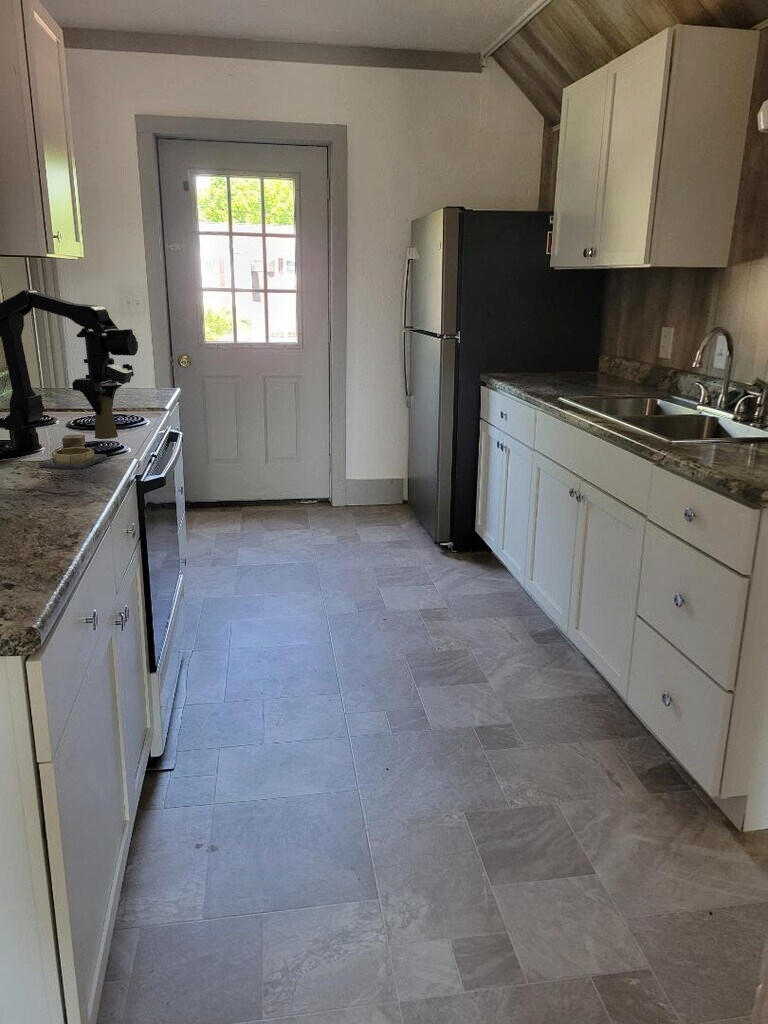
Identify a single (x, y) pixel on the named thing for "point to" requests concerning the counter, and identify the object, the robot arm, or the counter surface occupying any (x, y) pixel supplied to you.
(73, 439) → the walnut block
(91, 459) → the cup bracket
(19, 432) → the robot arm
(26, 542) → the counter surface
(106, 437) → the olive brown tapered cylinder
